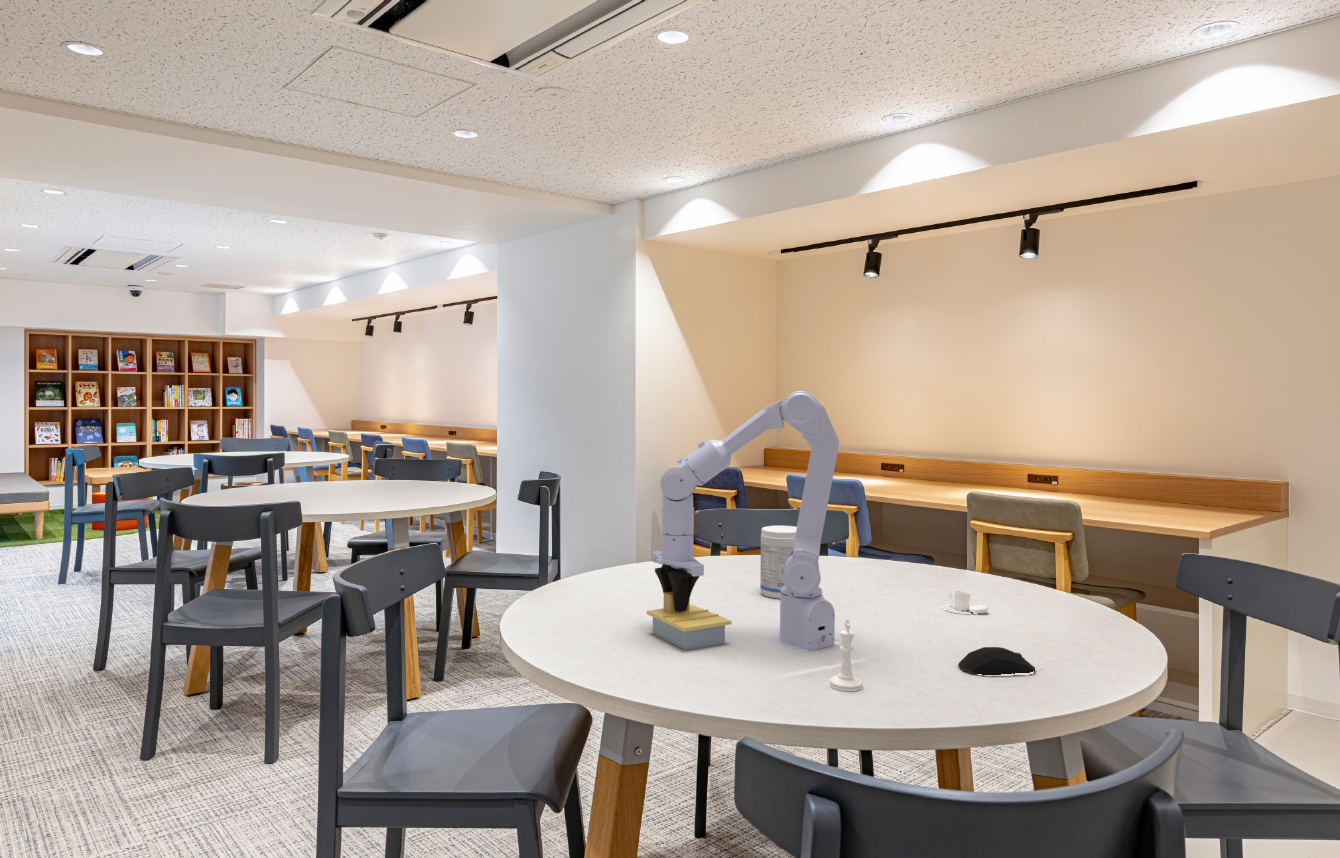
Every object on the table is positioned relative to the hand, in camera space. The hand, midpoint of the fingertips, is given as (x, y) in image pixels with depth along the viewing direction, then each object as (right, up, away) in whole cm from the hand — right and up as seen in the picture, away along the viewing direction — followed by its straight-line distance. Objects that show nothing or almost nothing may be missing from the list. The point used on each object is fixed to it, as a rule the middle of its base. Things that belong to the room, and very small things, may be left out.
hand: (676, 608), depth 144 cm
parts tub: (+2, -5, -3) cm, 6 cm away
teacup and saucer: (+59, -6, +19) cm, 62 cm away
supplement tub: (+23, -5, +33) cm, 41 cm away
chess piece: (+25, -6, -24) cm, 36 cm away
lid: (+2, -1, -3) cm, 4 cm away
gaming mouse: (+52, -7, -16) cm, 55 cm away
